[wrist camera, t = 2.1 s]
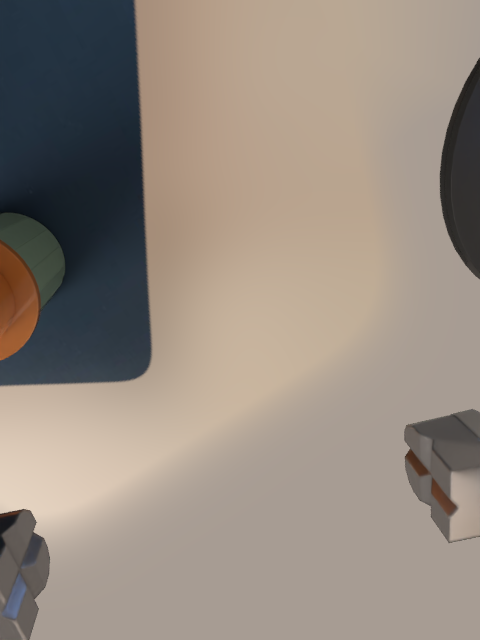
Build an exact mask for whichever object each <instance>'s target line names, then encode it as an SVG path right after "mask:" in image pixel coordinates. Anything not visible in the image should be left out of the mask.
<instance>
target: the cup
mask: <svg viewBox="0 0 480 640" xmlns="http://www.w3.org/2000/svg"><path fill="white" fill-rule="evenodd" d="M0 240H2V241H3V242H5V243H6V244H7V245H9V246H10V247H11V248H12V249H13V250H15V251H16V252H17V253H18V254H19V255H20V256H21V257H22V259H23V260H24V261H25V262H26V264H27V265H28V266H29V268H30V270H31V271H32V273H33V275H34V277H35V279H36V282H37V284H38V288H39V292H40V299H41V311H42V310H43V309H44V307H45V306H46V305H47V304H48V303H49V301H50V300H51V299H52V298H53V296H54V295H55V293H56V292H57V290H58V289H59V287H60V286H61V284H62V281H63V279H64V274H65V259H64V254H63V251H62V249H61V246H60V245H59V243H58V241H57V240H56V238H55V237H54V235H53V234H52V233H51V232H50V231H49V230H48V229H47V228H46V227H45V226H43V225H42V224H41V223H39V222H37V221H36V220H34V219H32V218H30V217H27V216H24V215H21V214H16V213H7V212H4V213H0Z"/></svg>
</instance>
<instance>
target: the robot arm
mask: <svg viewBox="0 0 480 640" xmlns="http://www.w3.org/2000/svg"><path fill="white" fill-rule="evenodd" d="M404 433H405V434H404V436H405V442H406V443H407V444H408V446H409V447H410V450H409V451H408V453H407V454H406V456H405V467H406V472H407V475H408V480H409V483H410V485H411V487H412V489H413V491H414V493H415V494H416V495H417V497H418V499H419V500H420V501H422V502H424V503H426V504H428V505H430V506H431V518H432V519H433V521H434V522H435V523H436V525H437V526H438V528H439V529H440V530H441V532H442V533H443V535H444V536H445V538H446V539H447V541H448V542H449V543H452V542H456V541H461V540H466V539H471V538H476V537H480V412H478V411H476V410H473V409H471V410H467V411H463V412H458V413H454V414H451V415H449V416H444V417H440V418H435V419H431V420H426V421H422V422H418V423H413V424H409V425H406V428H405V432H404ZM35 525H36V520H35V518H34V516H33V514H32V513H31V511H30V510H26V509H22V510H17V511H12V512H8V513H2V514H0V640H29V639H30V636H31V632H32V629H33V626H34V622H35V619H36V616H37V613H38V609H39V608H38V606H37V604H36V602H35V600H34V599H35V598H36V597H37V596H38V595H39V594H40V593H41V591H42V590H43V589H44V588H45V586H46V583H47V579H48V576H49V564H50V557H49V552H48V547H47V545H46V542H45V540H44V538H43V537H41V536H39V535H37V534H35V533H34V532H33V530H34V528H35Z"/></svg>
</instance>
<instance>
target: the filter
mask: <svg viewBox="0 0 480 640" xmlns="http://www.w3.org/2000/svg"><path fill="white" fill-rule="evenodd" d="M40 312H41V299H40V292H39V288H38V284H37V282H36V279H35V277H34V275H33V273H32V271H31V270H30V268H29V266H28V265H27V264H26V262H25V261H24V260H23V259H22V257H21V256H20V255H19V254H18V253H17V252H16V251H15V250H13V249H12V248H11V247H10V246H9V245H7V244H6V243H5V242H3V241H2V240H0V360H3V359H5V358H7V357H9V356H11V355H12V354H14V353H15V352H17V351H18V350H19V349H20V348H21V347H22V346H23V345H24V344H25V343H26V342H27V341H28V339H29V338H30V337H31V335H32V334H33V332H34V330H35V329H36V326H37V324H38V321H39V317H40Z"/></svg>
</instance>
